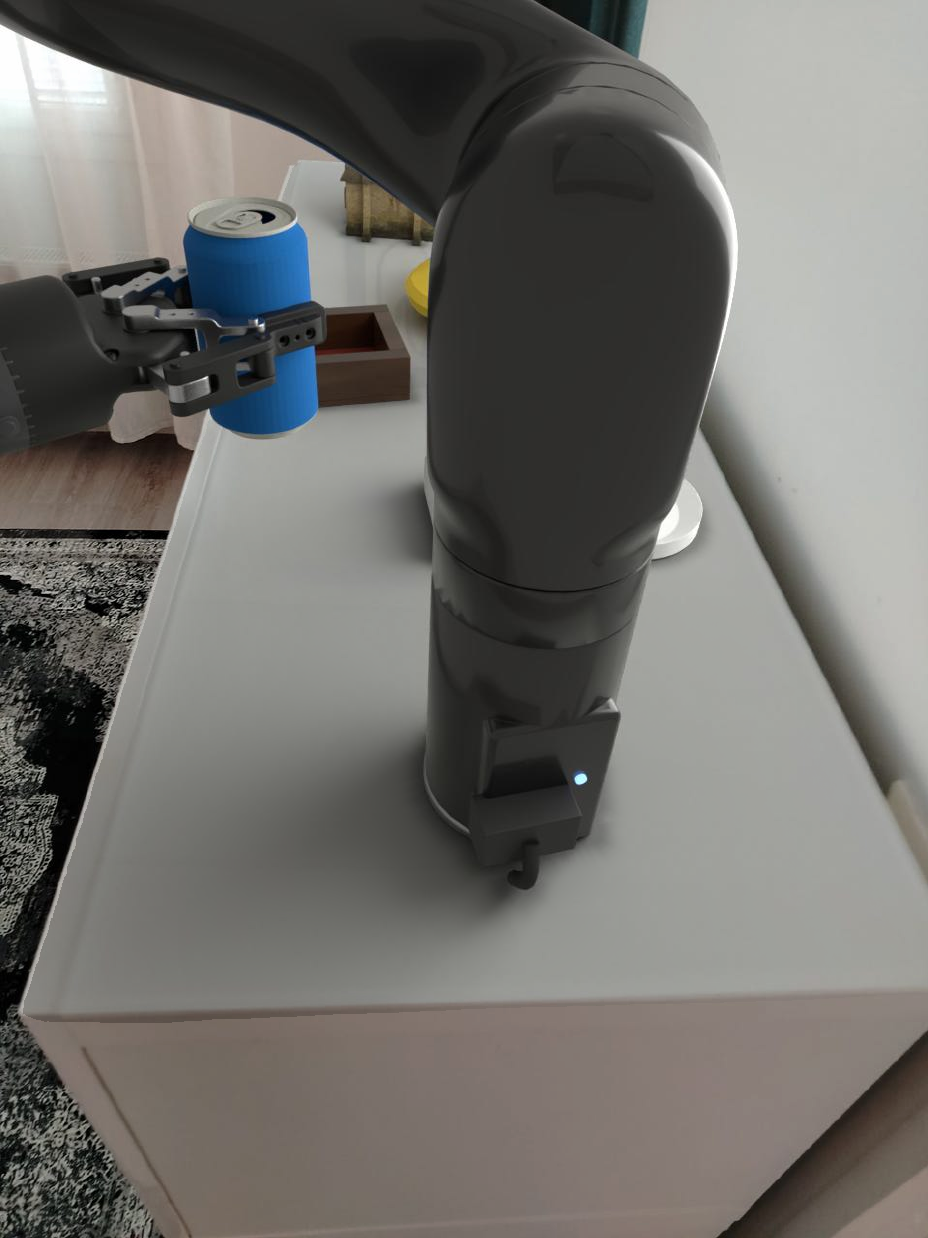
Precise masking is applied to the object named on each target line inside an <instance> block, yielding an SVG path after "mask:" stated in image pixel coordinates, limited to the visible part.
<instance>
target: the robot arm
mask: <svg viewBox="0 0 928 1238" xmlns="http://www.w3.org/2000/svg"><path fill="white" fill-rule="evenodd" d="M0 26H2V27H4V28H5V29H7V30H9V31H12V32H14V33H16V34H18V35H21V36H22V37H23V38H26V39H28V40H30V41H33V42H35V43H36V44H39V45H42V46H44V47H46V48H48V49H50V50H53V51H55V52H58V53H60V54H63V55H65V56H68V57H71V58H73V59H76V60H78V61H81V62H83V63H86V64H88V65H91V66H93V67H96V68H99V69H102V70H105V71H108V72H111V73H114V74H117V75H120V76H122V77H126V78H128V79H130V80H134V81H137V82H140V83H143V84H147V85H150V86H152V87H156V88H159V89H162V90H164V91H168V92H171V93H174V94H177V95H180V96H184V97H186V98H191V99H194V100H197V101H200V102H202V103H207V104H210V105H213V106H215V107H220V108H223V109H225V110H229V111H232V112H234V113H237V114H240V115H242V116H246V117H249V118H253V119H255V120H258V121H260V122H264V123H266V124H268V125H270V126H273V127H276V128H278V129H280V130H283V131H285V132H287V133H290V134H292V135H294V136H296V137H298V138H300V139H302V140H304V141H305V142H307V143H309V144H311V145H313V146H315V147H317V148H319V149H321V150H322V151H324V152H326V153H328V154H329V155H331V156H332V157H334V158H336V159H337V160H339V161H340V162H342V163H343V164H344V165H345V164H347V165H348V166H350V167H352V168H353V169H354V170H356V171H357V172H359V173H360V174H362V175H363V176H365V177H366V178H367V179H369V180H370V181H372V182H373V183H375V184H376V185H378V186H379V187H381V188H382V189H383V190H385V191H386V192H387V193H389V194H390V195H392V196H393V197H394V198H396V199H397V200H398V201H400V202H401V203H402V204H404V205H405V206H407V207H408V208H409V209H411V210H412V211H413V212H415V213H416V214H417V215H419V216H420V217H421V218H422V219H424V220H425V221H426V222H427V223H429V224H430V225H431V226H433V227H434V228H435V230H434V236H433V241H431V242H432V243H431V248H430V249H431V250H430V258H429V259H430V267H429V282H428V309H427V317H426V454H425V455H426V456H427V468H428V476H429V480H430V484H431V487H432V489H433V491H434V523H433V525H432V554H431V555H432V556H431V557H432V558H431V575H430V576H431V577H430V578H431V579H430V605H429V606H430V608H429V636H428V640H429V641H428V667H427V671H428V672H427V696H426V726H425V727H426V728H425V729H426V739H425V740H426V741H425V752H424V755H423V756H424V758H423V770H422V773H423V774H422V775H423V776H422V777H423V783H424V789H425V792H426V795H427V798H428V800H429V802H430V804H431V806H432V807H433V809H434V810H435V811H436V813H437V815H439V816H440V818H441V819H442V820H443V821H444V822H445V823H447V825H448V826H450V827H451V828H452V829H454V830H455V831H457V832H458V833H459V834H460V835H462V836H464V837H466V838H468V839H469V840H470V842H471V844H472V845H473V849H474V852H475V856H476V859H477V862H478V865H479V868H481V869H482V868H483V869H484V868H488V867H493V866H496V865H501V864H502V865H503V864H507V863H511V862H517V861H522V862H521V863H522V864H521V870H519V869H515V868H513V869H511V870H509V871H508V873H507V875H506V880H507V883H509V885H510V886H513V887H515V888H516V889H519V890H522V891H528V890H530V889H532V888H534V886H535V885H536V882H537V880H538V878H539V874H540V857H542V856H546V855H551V854H556V853H561V852H566V851H570V850H574V849H575V847H576V843H577V839H578V838H579V839H580V838H582V837H583V838H584V837H587V836H590V835H591V834H592V833H593V829H594V826H595V825H594V824H595V821H596V816H597V813H598V810H599V805H600V801H601V798H602V793H603V790H604V785H605V782H606V779H607V774H608V770H609V767H610V764H611V763H610V762H611V760H612V755H613V751H614V748H615V747H614V746H615V743H616V740H617V735H618V732H619V727H620V723H621V719H622V713H621V710H620V709H619V706H618V705H617V701H618V697H619V692H620V690H621V689H620V688H621V685H622V681H623V676H624V672H625V669H626V664H627V661H628V655H629V652H630V648H631V645H632V641H633V640H632V639H633V635H634V631H635V628H636V624H637V620H638V616H639V611H640V607H641V604H642V600H643V597H644V592H645V588H646V586H647V585H646V584H647V580H648V576H649V573H650V567H651V564H652V560H653V559H652V556H653V552H654V548H655V545H656V542H657V538H658V534H659V530H660V526H661V523H662V522H663V521H664V519H665V518H666V517H667V515H668V514H669V513H670V511H671V509H672V507H673V506H674V504H675V502H676V500H677V497H678V495H679V492H680V489H681V486H682V483H683V480H684V479H685V476H686V472H687V468H688V465H689V462H690V458H691V455H692V451H693V448H694V444H695V441H696V438H697V435H698V431H699V427H700V424H701V420H702V418H703V417H702V416H703V413H704V409H705V406H706V402H707V399H708V396H709V392H710V389H711V385H712V380H713V378H714V374H715V371H716V367H717V363H718V359H719V355H720V353H721V348H722V345H723V341H724V336H725V333H726V329H727V325H728V320H729V316H730V312H731V306H732V301H733V295H734V290H735V284H736V276H737V269H738V251H739V250H738V248H739V244H738V243H739V241H738V233H737V222H736V217H735V213H734V208H733V205H732V204H733V203H732V200H731V197H730V192H729V188H728V186H727V181H726V177H725V174H724V169H723V166H722V163H721V162H722V161H721V155H720V153H719V151H718V147H717V144H716V142H715V140H714V138H713V134H712V132H711V130H710V127H709V125H708V123H707V121H706V120H705V118H704V117H703V116H702V114H701V113H700V111H699V109H698V108H697V106H696V104H695V103H694V102H693V101H692V99H691V97H689V96H688V95H687V94H686V93H685V92H684V91H683V90H682V89H680V88H679V87H678V86H677V85H676V84H675V83H674V82H673V81H672V80H671V79H670V78H669V77H667V76H666V75H665V74H664V73H662V72H660V71H659V70H657V69H656V68H654V67H652V66H651V65H649V64H648V63H646V62H644V61H642V60H641V59H639V58H637V57H635V56H634V55H631V54H630V53H628V52H626V51H625V50H622V49H621V48H619V47H617V46H615V45H613V44H611V43H610V42H609V41H607V40H605V39H602V38H601V37H599V36H598V35H596V34H593V33H592V32H590V31H588V30H587V29H585V28H583V27H581V26H579V25H578V24H575V23H574V22H572V21H570V20H569V19H567V18H565V17H563V16H562V15H560V14H558V13H557V12H555V11H553V10H551V9H549V8H548V7H546V6H544V5H542V4H541V3H539V2H537V1H536V0H0ZM325 308H326V307H324V306H323V305H322V304H320V303H319V302H317V301H316V300H311V301H308V302H305V303H301V304H297V305H293V306H289V307H286V308H283V309H279V310H275V311H270V312H266V313H262V314H258V317H257V316H248V317H221V316H219V315H218V314H217V312H216V311H214V310H213V309H210V308H202V309H193V303H192V297H191V290H190V284H189V278H188V271H187V265H182V264H181V265H176V266H174V267H172V268H171V264H170V260H169V259H168V258H166V257H160V256H155V257H152V258H146V259H141V260H140V259H139V260H134V261H129V262H124V263H118V264H112V265H105V266H100V267H93V268H88V269H83V270H77V271H70V272H66V273H64V274H62V275H61V279H60V278H58V277H57V276H55V275H54V276H53V275H51V274H43V275H39V276H34V277H29V278H24V279H19V280H15V281H10V282H5V283H0V457H4V456H7V455H11V454H13V453H14V454H15V453H18V452H21V451H24V450H28V449H30V448H34V447H37V446H41V445H44V444H47V443H51V442H54V441H58V440H60V439H64V438H68V437H71V436H74V435H77V434H80V433H83V432H87V431H90V430H94V429H97V428H100V427H103V426H105V425H107V424H108V423H109V422H110V421H111V419H112V418H113V415H114V412H115V411H114V410H115V409H114V407H115V404H116V402H117V400H118V399H119V397H121V396H122V395H124V394H131V393H140V392H153V391H160V392H161V393H162V394H163V395H165V396H167V399H168V404H169V409H170V410H169V411H170V413H171V415H172V416H174V417H177V418H188V417H191V416H194V415H197V414H198V413H202V412H204V411H207V410H209V409H210V408H212V407H215V406H218V405H221V404H223V403H226V402H229V401H231V400H234V399H237V398H240V397H242V396H245V395H248V394H250V393H253V392H256V391H258V390H261V389H264V388H267V387H269V386H272V385H274V384H275V383H276V373H275V363H274V358H275V357H277V356H280V355H284V354H287V353H290V352H294V351H297V350H301V349H304V348H308V347H311V346H315V345H318V344H321V343H323V342H324V341H325V339H326V337H327V326H326V311H325ZM197 329H198V330H199V331H201V332H202V334H203V335H204V340H205V346H206V349H203V350H200V349H199V344H198V338H197V332H196V330H197ZM235 335H243V337H240V338H237V339H234V340H231V341H228V342H224V343H221V337H222V336H235ZM245 370H251V371H250V372H247V373H244V374H241V375H239V376H237V371H245ZM426 456H425V457H426Z"/></svg>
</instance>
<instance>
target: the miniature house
mask: <svg viewBox="0 0 928 1238" xmlns="http://www.w3.org/2000/svg"><path fill="white" fill-rule="evenodd" d="M339 181H340V182H344V183H345V184H344V185H345V186H344V189H343V195H344V196H343V199H344V209H345V210H346V211H345V212H346V226H345V235H346V236H356V237H361V242H362V243H363V242H364V243H365V242H366V243H370V242H371V240H372V239H373V238H380V239H381V238H383V239H393V240H394V239H395V240H408V241H409V240H410V241H411V245H412V246H417V247H420V246H421V243H422V241H423V242H433V236H434V230H435V228H434V227H433V226H431V225H430V224H429V223H427V222H426V221H425V220H424V219H422V218H421V217H420V216H419V215H417V214H416V213H415V212H413V211H412V210H411V209H409V208H408V207H407V206H405V205H404V204H402V203H401V202H400V201H398V200H397V199H396V198H394V197H393V196H392V195H390V194H389V193H387V192H386V191H385V190H383V189H382V188H381V187H379V186H378V185H376V184H375V183H373V182H372V181H370V180H369V179H367V178H366V177H365V176H363V175H362V174H360V173H359V172H357V171H356V170H354V169H353V168H352V167H350V166H348V165H347V164H345V163H344V171H343V173H342V175H341V177H340V179H339Z"/></svg>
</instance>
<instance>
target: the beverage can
mask: <svg viewBox="0 0 928 1238" xmlns="http://www.w3.org/2000/svg"><path fill="white" fill-rule="evenodd" d="M187 222H188V224H189V225H188V227H187V228H186V230H185V232H184V235H183V239H182V245H183V252H184V257H185V264H186V265H185V266H187V271H188V278H189V284H190V290H191V297H192V303H193V309H202V308H210V309H213V310H214V311H216V312H217V314H218V315H219V316H221V317H248V316H257V317H258V314H262V313H266V312H270V311H275V310H279V309H283V308H286V307H289V306H293V305H297V304H301V303H305V302H308V301H312V291H311V289H312V288H311V275H310V261H309V244H308V243H309V242H308V237H307V234H306V232H305V230H304V228H303V227H302V226H301V225H300V224H299V222H298V212H297V210H296V209H295V208H294V207H293V206H292V205H290V204H288V203H286V202H283V201H281V200H277V199H272V198H267V197H261V196H230V197H229V196H228V197H221V198H215V199H210V200H208V201H204V202H201V203H199V204H196V205H195V206H193V207H192V208H191V209H190V210H189V211H188V212H187ZM196 336H197V342H198V349H199V351H200V350H203V349H206V346H205V340H204V335H203V334H202V332H201V331H199V330H198V329H196ZM240 337H243V335H235V336H222V337H221V343H224V342H228V341H231V340H234V339H237V338H240ZM274 363H275V373H276V383H275V384H274V385H272V386H269V387H267V388H264V389H261V390H258V391H256V392H253V393H250V394H248V395H245V396H242V397H240V398H237V399H234V400H231V401H229V402H226V403H223V404H221V405H218V406H215V407H212V408H210V409H208V411H209V415H210V417H211V419H212V420H213V421H214V422H215V423H216V424H217V425H218V426H220V427H222V428H223V429H226V430H227V431H229V432H231V433H232V434H234V435H236V436H239V437H240V438H244V439H245V438H246V439H250V440H262V441H264V440H265V441H266V440H267V441H268V440H276V439H280V438H284V437H287V436H290V435H292V434H294V433H296V432H298V431H299V430H300V429H302V428H303V427H304V426H305V425H306V424H308V423H309V422H311V420H313V419H314V418H315V416H316V415H317V413H318V410H319V407H318V394H317V379H316V364H315V349H314V346H311V347H308V348H304V349H301V350H297V351H294V352H290V353H287V354H284V355H280V356H277V357H275V358H274ZM250 371H251V370H245V371H237V376H239V375H241V374H244V373H247V372H250Z"/></svg>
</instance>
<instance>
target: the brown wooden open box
mask: <svg viewBox="0 0 928 1238" xmlns="http://www.w3.org/2000/svg"><path fill="white" fill-rule="evenodd" d="M324 308H325V311H326V326H327V337H326V339H325V341H324V342H323V343H321V344H318V345H315V346H314V349H315V364H316V379H317V394H318V408H322V407H323V408H325V407H335V406H347V405H359V404H360V405H361V404H371V403H381V402H393V401H408V400H411V355H410V353H409V351H408V348H407V346H406V344H405V341H404V339H403V337H402V335H401V333H400V331H399V329H398V327H397V324H396V322H395V319H394V318H393V314H392V313H391V311H390V308H389V306H388V305H387V303H385V304H370V305H369V304H367V305H353V306H337V307H324Z"/></svg>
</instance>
